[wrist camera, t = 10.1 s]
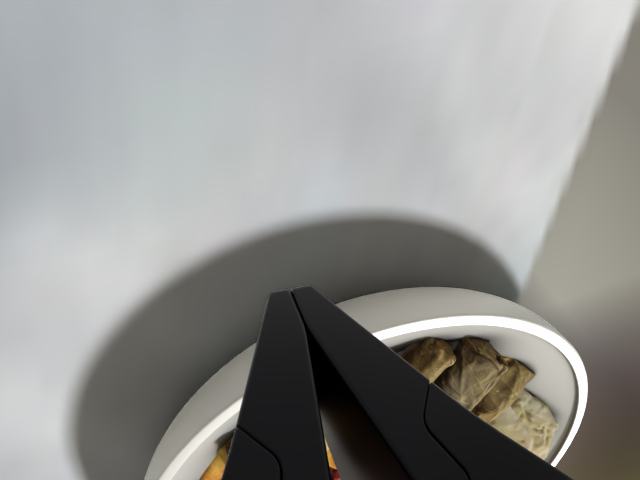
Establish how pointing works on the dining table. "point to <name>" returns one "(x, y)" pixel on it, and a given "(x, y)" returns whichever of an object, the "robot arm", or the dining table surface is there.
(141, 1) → the dining table surface
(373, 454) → the robot arm
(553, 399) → the bowl
